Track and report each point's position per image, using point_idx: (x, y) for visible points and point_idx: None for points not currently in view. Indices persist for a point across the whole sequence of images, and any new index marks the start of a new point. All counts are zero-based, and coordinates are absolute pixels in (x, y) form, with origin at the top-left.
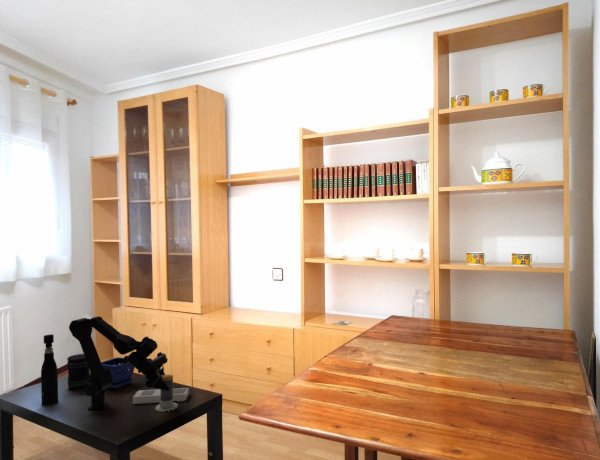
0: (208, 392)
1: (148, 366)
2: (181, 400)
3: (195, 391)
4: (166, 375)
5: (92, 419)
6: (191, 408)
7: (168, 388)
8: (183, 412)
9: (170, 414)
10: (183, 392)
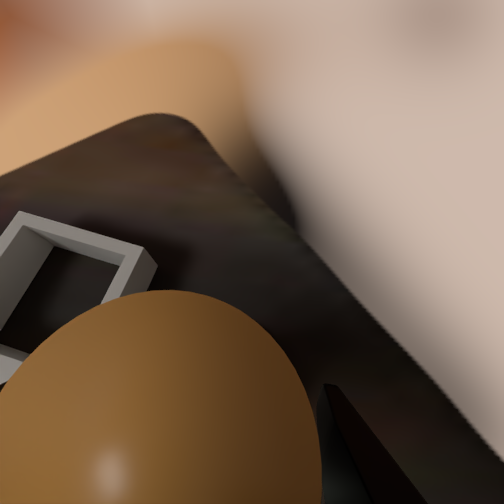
0: (95, 138)
1: None
2: (145, 287)
3: (25, 193)
4: (64, 465)
5: None
6: (300, 246)
7: (346, 405)
8: (348, 296)
9: (357, 383)
10: (28, 258)
